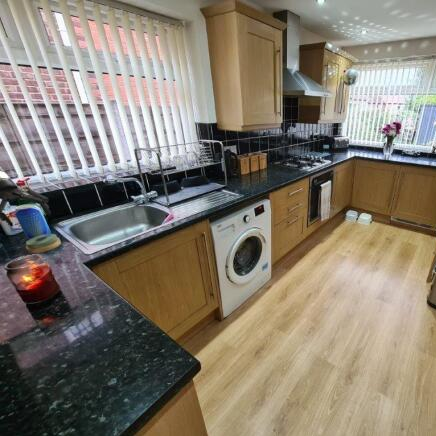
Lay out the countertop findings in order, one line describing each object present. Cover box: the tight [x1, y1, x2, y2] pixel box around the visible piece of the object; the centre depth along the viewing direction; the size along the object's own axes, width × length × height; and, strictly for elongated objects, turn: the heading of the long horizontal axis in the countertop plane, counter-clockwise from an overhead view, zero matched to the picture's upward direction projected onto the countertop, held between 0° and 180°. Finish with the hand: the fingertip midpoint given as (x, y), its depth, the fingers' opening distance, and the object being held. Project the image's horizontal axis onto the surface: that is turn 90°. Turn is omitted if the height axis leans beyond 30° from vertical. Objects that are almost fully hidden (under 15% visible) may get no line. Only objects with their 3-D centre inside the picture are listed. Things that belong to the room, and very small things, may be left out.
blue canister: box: [14, 203, 52, 240], centre depth 114 cm, size 8×8×16 cm
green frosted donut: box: [25, 233, 62, 254], centre depth 108 cm, size 11×11×4 cm
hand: (31, 219), depth 114 cm, fingers open, 13 cm apart
